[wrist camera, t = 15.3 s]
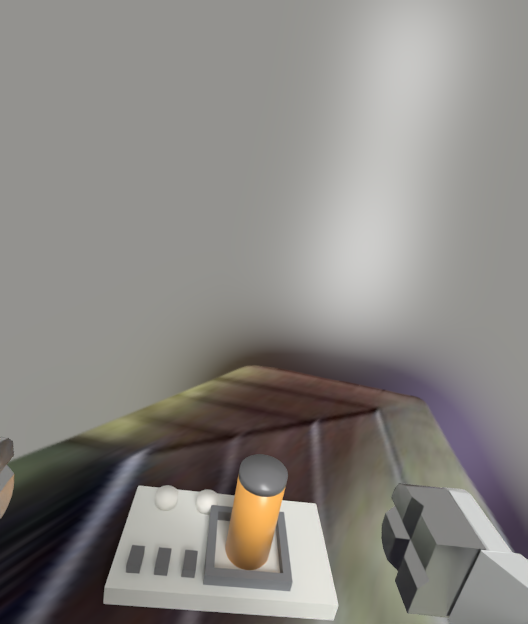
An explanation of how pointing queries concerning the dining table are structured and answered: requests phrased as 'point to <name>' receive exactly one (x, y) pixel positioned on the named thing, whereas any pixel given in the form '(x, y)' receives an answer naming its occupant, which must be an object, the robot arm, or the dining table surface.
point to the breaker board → (218, 559)
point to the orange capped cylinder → (255, 511)
